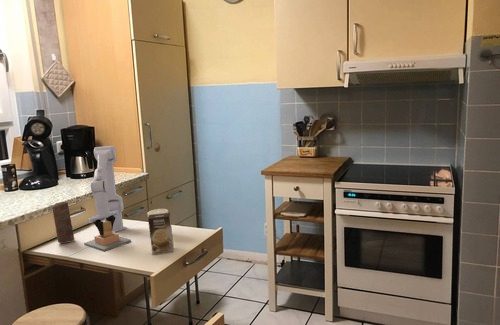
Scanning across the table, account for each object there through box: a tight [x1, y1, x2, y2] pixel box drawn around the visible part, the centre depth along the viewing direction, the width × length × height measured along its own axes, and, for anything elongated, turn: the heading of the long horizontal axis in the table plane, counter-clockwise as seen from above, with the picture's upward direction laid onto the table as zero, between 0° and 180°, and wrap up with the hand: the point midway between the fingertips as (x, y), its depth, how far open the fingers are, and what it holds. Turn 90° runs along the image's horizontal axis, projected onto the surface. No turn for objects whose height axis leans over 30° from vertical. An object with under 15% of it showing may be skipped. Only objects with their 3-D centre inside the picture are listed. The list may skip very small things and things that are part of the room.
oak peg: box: [101, 220, 114, 238], centre depth 194 cm, size 4×4×8 cm
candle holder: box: [146, 208, 169, 218], centre depth 199 cm, size 10×10×12 cm
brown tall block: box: [51, 201, 75, 244], centre depth 201 cm, size 8×7×20 cm
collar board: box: [83, 232, 132, 253], centre depth 195 cm, size 18×14×4 cm
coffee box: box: [147, 212, 175, 256], centre depth 176 cm, size 9×6×16 cm
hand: (106, 233), depth 194 cm, fingers closed on oak peg, 4 cm apart
